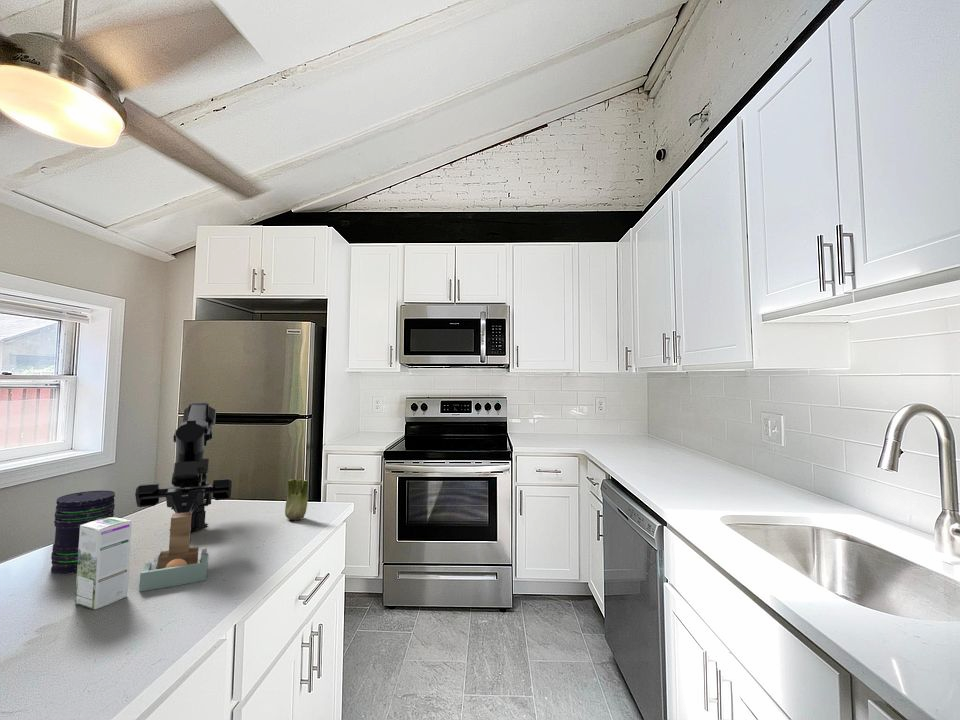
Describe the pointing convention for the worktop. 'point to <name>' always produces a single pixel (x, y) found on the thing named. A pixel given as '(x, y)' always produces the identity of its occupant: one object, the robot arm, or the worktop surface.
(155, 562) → the rails
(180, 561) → the ball
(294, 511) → the fennel bulb
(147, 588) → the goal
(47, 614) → the worktop surface
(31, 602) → the worktop surface
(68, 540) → the storage jar
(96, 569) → the syrup box
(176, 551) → the kicker
